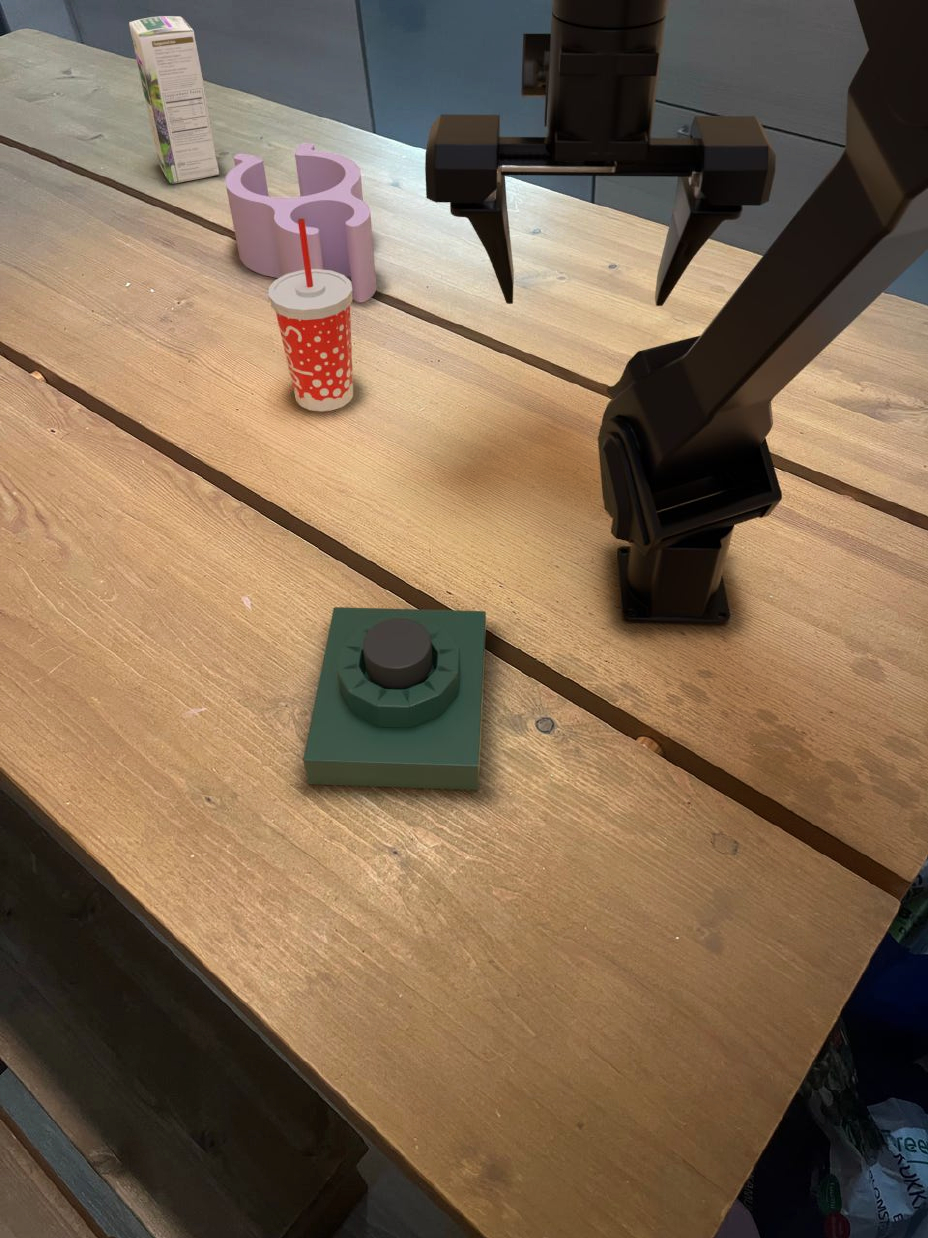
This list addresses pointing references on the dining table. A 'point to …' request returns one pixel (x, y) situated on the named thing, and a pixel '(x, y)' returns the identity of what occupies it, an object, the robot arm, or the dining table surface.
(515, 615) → the dining table surface
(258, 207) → the clip
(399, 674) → the push button
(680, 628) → the dining table surface
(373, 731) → the green button box
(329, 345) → the beverage cup
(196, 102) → the syrup box
